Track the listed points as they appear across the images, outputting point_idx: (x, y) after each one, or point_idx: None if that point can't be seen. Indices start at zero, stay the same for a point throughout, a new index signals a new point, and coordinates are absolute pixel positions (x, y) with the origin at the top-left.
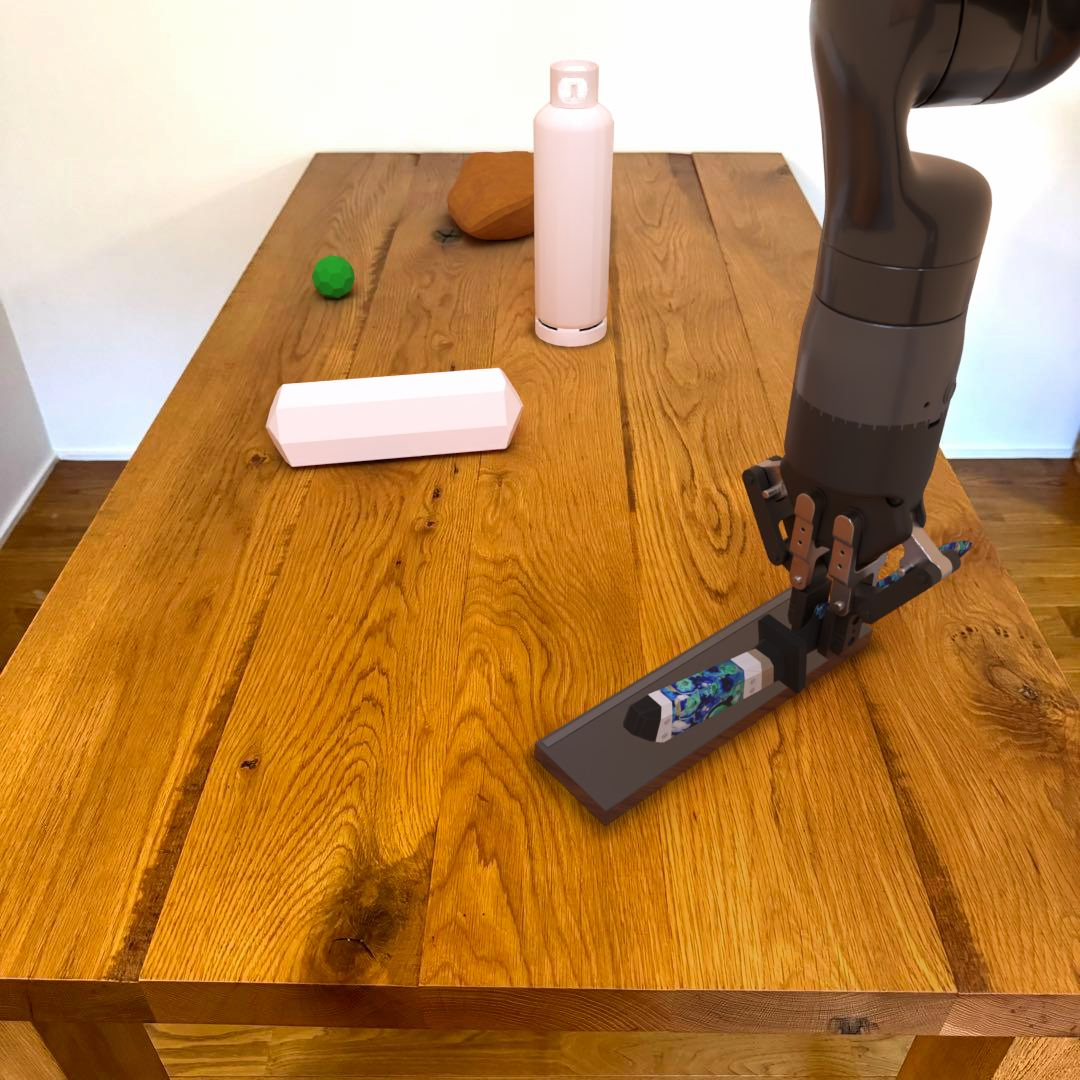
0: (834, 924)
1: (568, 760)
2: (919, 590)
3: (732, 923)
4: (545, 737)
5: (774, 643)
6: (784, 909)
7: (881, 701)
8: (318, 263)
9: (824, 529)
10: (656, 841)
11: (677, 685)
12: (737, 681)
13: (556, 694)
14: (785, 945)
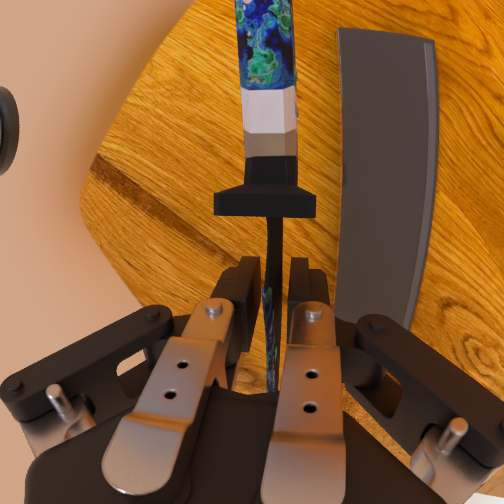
0: (160, 117)
1: (402, 43)
2: (31, 369)
3: (203, 55)
4: (434, 50)
5: (266, 184)
6: (188, 94)
7: (283, 309)
8: None
9: (258, 433)
10: (297, 54)
11: None
12: (240, 69)
13: (470, 111)
14: (168, 76)
